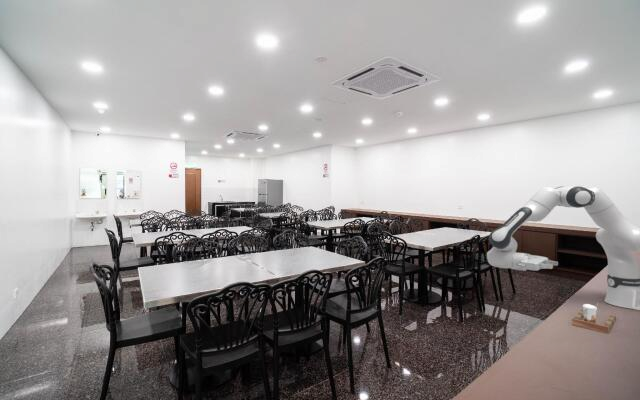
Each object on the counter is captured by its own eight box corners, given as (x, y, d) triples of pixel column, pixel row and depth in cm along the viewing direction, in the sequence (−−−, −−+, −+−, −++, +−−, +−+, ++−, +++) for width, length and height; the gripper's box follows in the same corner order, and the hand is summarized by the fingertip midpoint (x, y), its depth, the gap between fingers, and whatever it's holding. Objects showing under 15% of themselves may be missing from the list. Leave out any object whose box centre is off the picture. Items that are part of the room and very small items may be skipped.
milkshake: (602, 329, 124) (602, 304, 124) (587, 328, 125) (587, 304, 125) (594, 324, 128) (594, 301, 128) (579, 323, 129) (579, 300, 129)
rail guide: (582, 311, 144) (582, 306, 144) (615, 318, 135) (615, 313, 135) (571, 324, 128) (571, 319, 128) (608, 333, 120) (608, 327, 120)
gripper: (514, 258, 149) (549, 261, 138) (527, 252, 162) (559, 255, 151) (515, 271, 149) (549, 275, 138) (527, 264, 162) (560, 268, 151)
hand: (555, 265), depth 145 cm, fingers open, 8 cm apart
